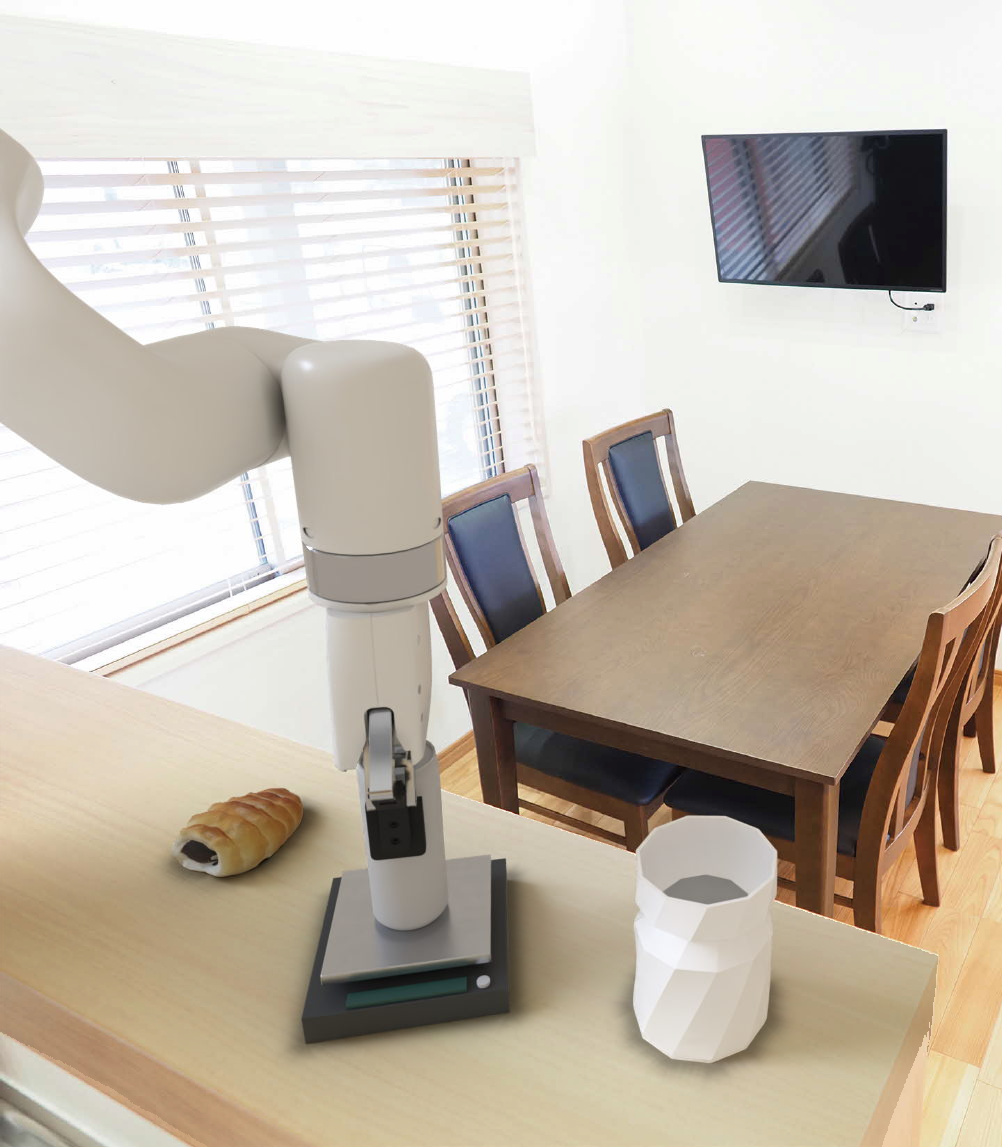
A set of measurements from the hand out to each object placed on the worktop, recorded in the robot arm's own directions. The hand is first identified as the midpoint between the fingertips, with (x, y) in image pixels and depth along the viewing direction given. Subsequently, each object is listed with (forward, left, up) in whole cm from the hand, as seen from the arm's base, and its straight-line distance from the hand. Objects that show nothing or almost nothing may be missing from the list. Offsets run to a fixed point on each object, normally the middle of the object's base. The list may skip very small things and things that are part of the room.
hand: (402, 825), depth 62 cm
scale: (0, 0, -11) cm, 11 cm away
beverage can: (0, 0, -7) cm, 7 cm away
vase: (+18, -9, -11) cm, 23 cm away
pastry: (-14, +14, -11) cm, 23 cm away
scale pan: (0, 0, -8) cm, 8 cm away
